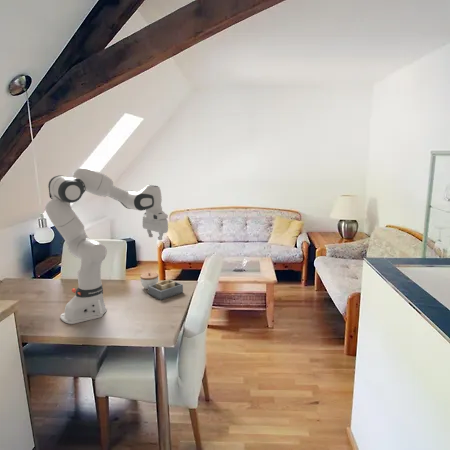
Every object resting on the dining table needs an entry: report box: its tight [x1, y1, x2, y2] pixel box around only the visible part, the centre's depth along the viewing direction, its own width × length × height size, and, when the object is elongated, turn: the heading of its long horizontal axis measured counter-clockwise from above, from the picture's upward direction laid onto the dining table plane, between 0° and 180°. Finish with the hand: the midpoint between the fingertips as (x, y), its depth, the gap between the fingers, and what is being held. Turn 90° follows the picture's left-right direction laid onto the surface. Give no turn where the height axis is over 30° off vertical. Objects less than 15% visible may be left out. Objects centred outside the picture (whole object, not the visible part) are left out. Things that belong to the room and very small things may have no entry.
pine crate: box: [156, 279, 176, 291], centre depth 230 cm, size 9×6×6 cm, turn 133°
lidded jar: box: [139, 271, 159, 290], centre depth 240 cm, size 11×11×9 cm
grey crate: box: [147, 279, 184, 301], centre depth 230 cm, size 15×12×5 cm
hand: (155, 238), depth 223 cm, fingers open, 8 cm apart
